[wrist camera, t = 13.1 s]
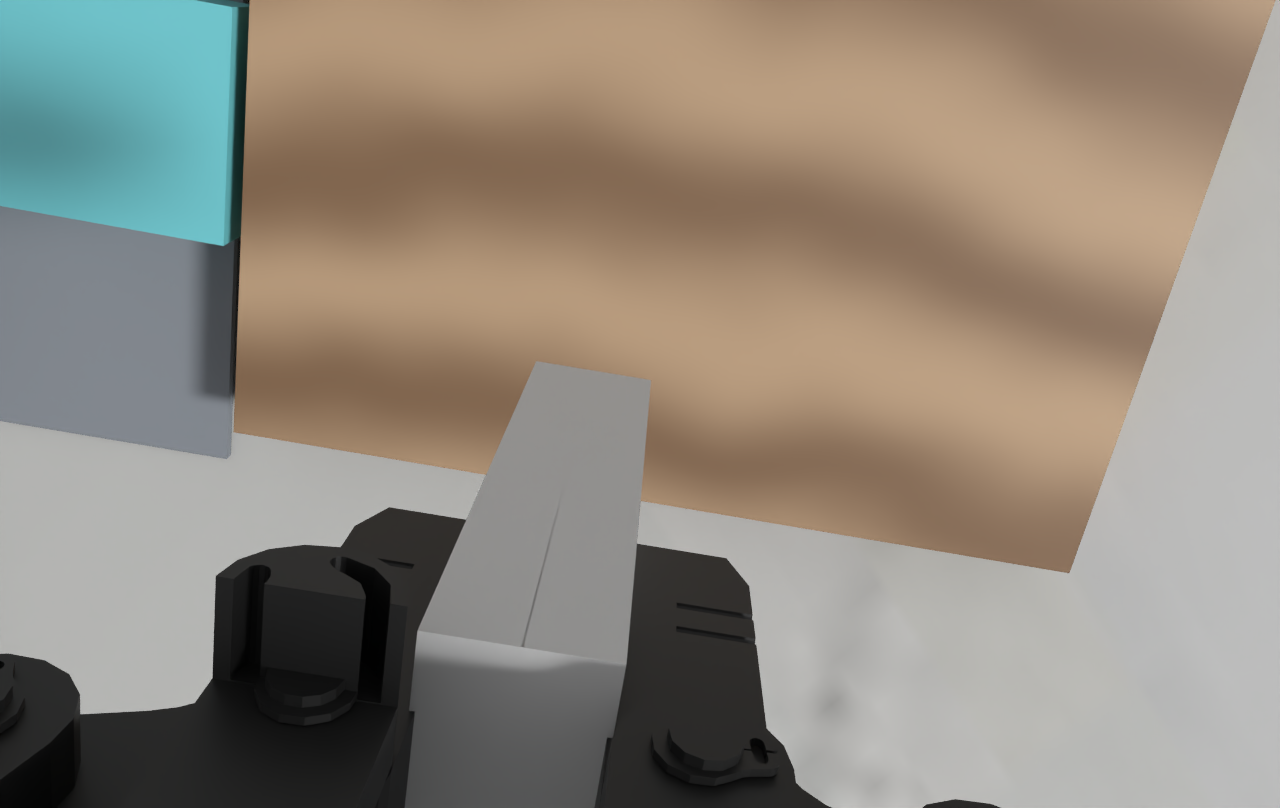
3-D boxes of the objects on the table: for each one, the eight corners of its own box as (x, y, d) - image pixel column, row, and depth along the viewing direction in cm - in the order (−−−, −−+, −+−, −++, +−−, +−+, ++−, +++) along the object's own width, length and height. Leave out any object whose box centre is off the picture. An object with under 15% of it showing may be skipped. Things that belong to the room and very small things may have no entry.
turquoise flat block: (251, 230, 30) (223, 245, 28) (-70, 172, 30) (-120, 184, 28) (262, 6, 28) (232, 7, 26) (-85, -59, 28) (-140, -63, 26)
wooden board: (1041, 532, 33) (1069, 573, 31) (265, 400, 32) (233, 431, 30) (1230, -18, 27) (1282, -20, 25) (294, -193, 27) (257, -212, 24)
